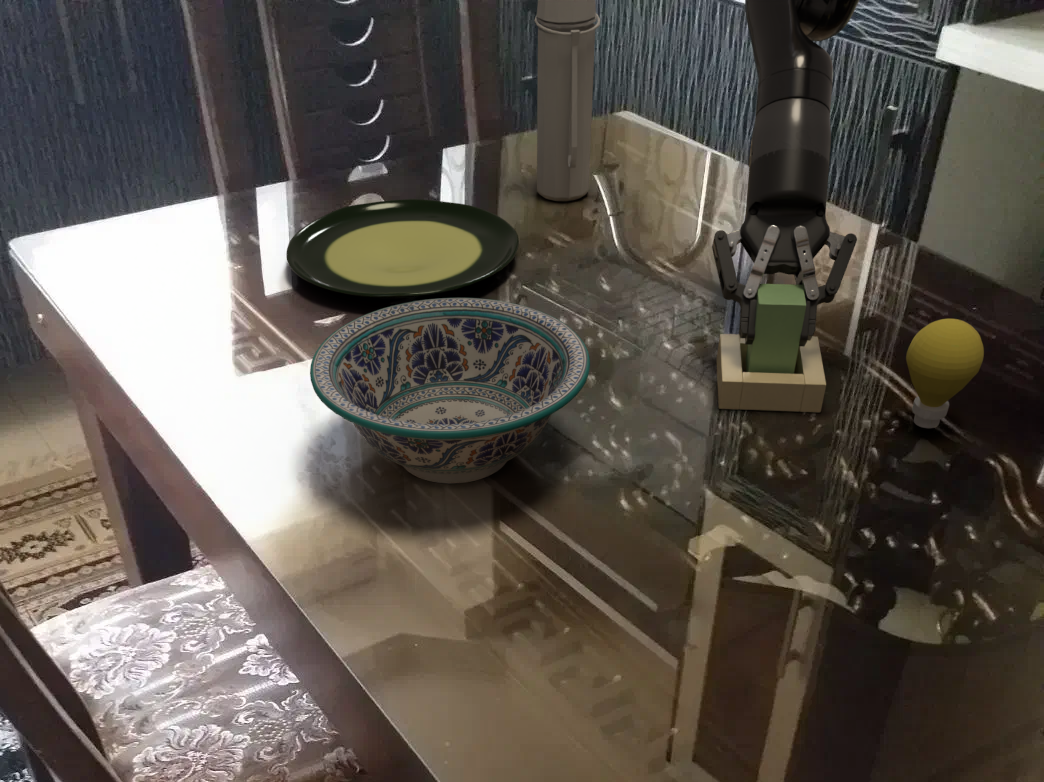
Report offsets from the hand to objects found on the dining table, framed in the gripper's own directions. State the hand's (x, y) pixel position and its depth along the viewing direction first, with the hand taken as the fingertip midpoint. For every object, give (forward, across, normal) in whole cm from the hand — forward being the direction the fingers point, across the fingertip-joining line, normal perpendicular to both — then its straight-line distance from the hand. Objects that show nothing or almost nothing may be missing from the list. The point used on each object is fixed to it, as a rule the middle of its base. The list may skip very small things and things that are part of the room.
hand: (776, 342), depth 111 cm
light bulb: (+7, +15, +1) cm, 16 cm away
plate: (-16, -42, +25) cm, 51 cm away
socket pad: (+3, 0, +5) cm, 6 cm away
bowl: (+13, -30, -5) cm, 33 cm away
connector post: (+2, 0, +4) cm, 4 cm away
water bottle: (-32, -24, +40) cm, 57 cm away
